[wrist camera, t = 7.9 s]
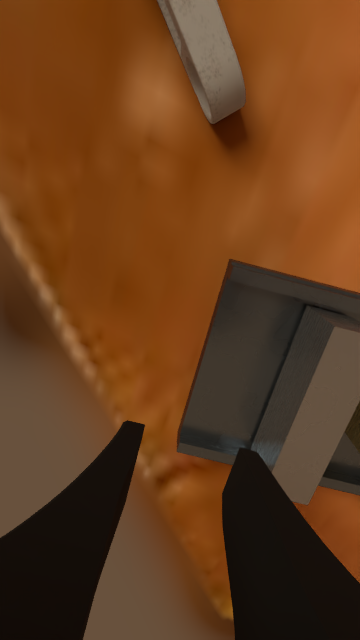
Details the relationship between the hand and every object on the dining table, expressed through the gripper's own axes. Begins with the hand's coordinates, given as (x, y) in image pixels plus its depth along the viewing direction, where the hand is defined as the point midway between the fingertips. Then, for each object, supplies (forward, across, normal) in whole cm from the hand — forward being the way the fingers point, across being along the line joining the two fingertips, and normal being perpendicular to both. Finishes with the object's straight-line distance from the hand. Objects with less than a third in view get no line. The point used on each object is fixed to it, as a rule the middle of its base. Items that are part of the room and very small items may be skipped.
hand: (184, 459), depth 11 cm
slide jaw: (+8, -7, 0) cm, 10 cm away
